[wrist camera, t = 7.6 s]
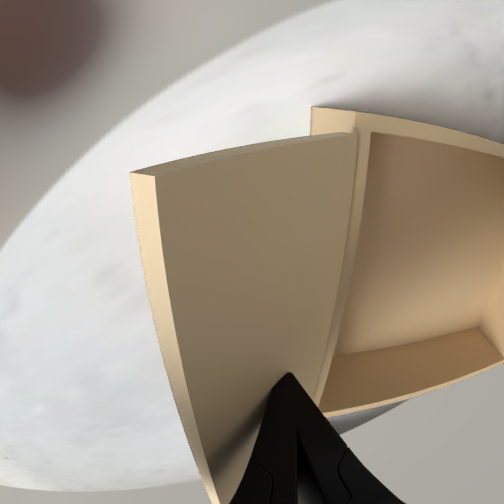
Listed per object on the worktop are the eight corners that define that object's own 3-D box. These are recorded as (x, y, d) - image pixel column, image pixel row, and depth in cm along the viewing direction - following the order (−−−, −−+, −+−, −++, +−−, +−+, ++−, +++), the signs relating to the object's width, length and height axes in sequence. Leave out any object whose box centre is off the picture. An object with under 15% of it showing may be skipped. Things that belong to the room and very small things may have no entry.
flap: (225, 519, 10) (216, 514, 10) (307, 418, 15) (299, 415, 16) (154, 176, 3) (129, 172, 3) (357, 134, 9) (342, 131, 9)
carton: (477, 326, 22) (506, 362, 18) (289, 361, 20) (304, 420, 16) (530, 153, 15) (578, 174, 10) (311, 106, 13) (355, 111, 9)
